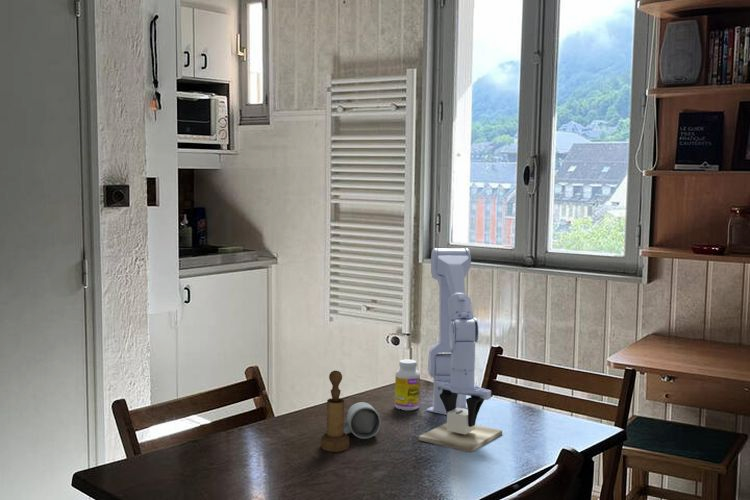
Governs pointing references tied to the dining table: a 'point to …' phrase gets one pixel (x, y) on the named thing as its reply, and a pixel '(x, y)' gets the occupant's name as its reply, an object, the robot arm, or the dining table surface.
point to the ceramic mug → (362, 421)
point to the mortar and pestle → (335, 419)
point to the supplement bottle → (407, 385)
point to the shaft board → (461, 437)
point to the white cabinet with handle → (458, 421)
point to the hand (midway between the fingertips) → (461, 423)
